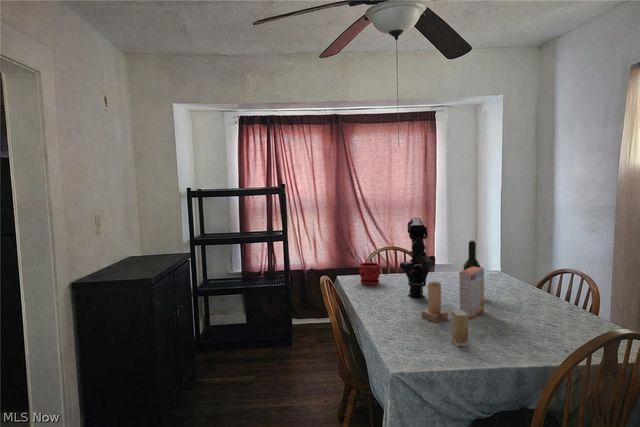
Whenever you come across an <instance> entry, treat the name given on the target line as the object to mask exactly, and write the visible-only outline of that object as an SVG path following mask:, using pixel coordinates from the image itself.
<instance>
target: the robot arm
mask: <svg viewBox="0 0 640 427" xmlns="http://www.w3.org/2000/svg"><path fill="white" fill-rule="evenodd" d="M421 219H422V218H420V217H411V218H410V221H408V223H407V234H408V237H409V240H411V251H409V254H410V255H411V259H409V261H402V262H400V263H399V269H401V270H402V271H404V272H403V273H405V275H406V277H407V281H408V282H407V283H408V284H407V285H408V287H409V294H408V295H407V297H410V298H413V299H421V298H424V297H426V295H424V294H423V292H424V287H426V286H427V277H428V274H429V271H430V270H431V269H432V268H434V266H436V261H437V260H436V256H434V255H430V256H427V252H426V251H425V250H426V245H425V240H427V238H428V228H427V226H425V223H424V222H422V220H421Z"/></svg>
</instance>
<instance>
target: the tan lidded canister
mask: <svg viewBox="0 0 640 427" xmlns="http://www.w3.org/2000/svg"><path fill="white" fill-rule="evenodd" d="M427 310H428V312H429V313H433V314H439V313H441V311H442V284H441V283H440V282H437V281H430V282H428V283H427Z"/></svg>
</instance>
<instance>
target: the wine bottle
mask: <svg viewBox="0 0 640 427" xmlns="http://www.w3.org/2000/svg"><path fill="white" fill-rule="evenodd" d="M476 246H477V242H475V240H469V242H468V258H467V260H466V261H465V262H464V264H463V270H466V269H468V268H470V267H480V268H482V266H481V265H480V263H479V261H478V260H477V259H476V257H477V256H476V255H477V251H476V249H477V248H476Z"/></svg>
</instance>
